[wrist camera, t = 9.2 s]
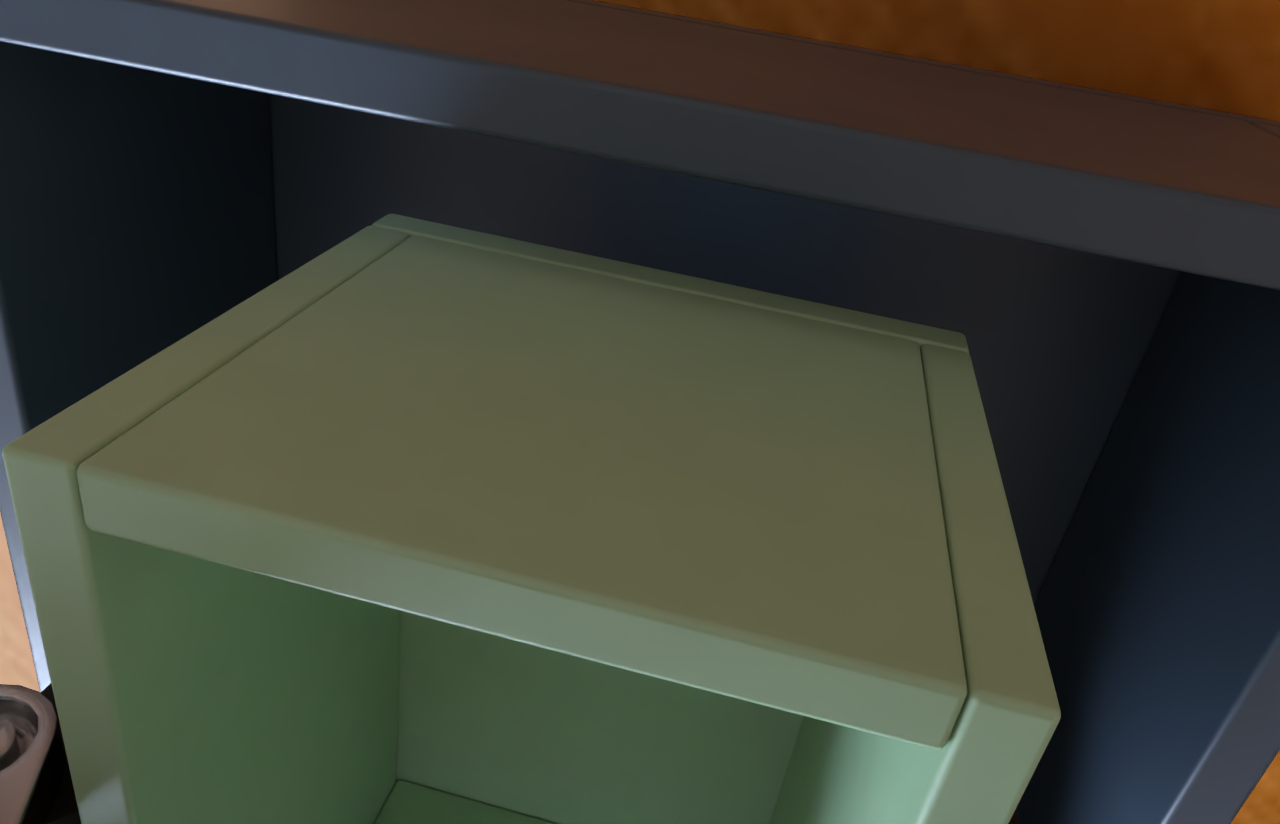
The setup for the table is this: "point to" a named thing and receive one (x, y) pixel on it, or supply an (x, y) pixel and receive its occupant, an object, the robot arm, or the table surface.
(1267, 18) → the table surface
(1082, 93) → the tote
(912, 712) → the sage bin
